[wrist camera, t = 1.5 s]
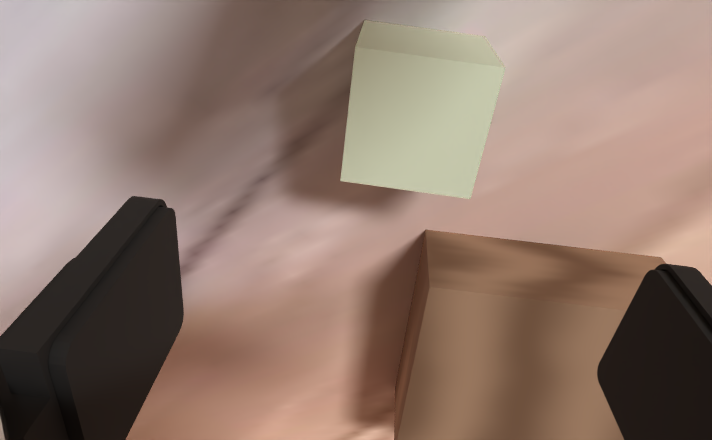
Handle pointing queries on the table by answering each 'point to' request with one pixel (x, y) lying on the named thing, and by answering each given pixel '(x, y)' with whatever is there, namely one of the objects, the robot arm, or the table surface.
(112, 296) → the robot arm
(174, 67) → the table surface
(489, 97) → the cream cube
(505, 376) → the walnut block
